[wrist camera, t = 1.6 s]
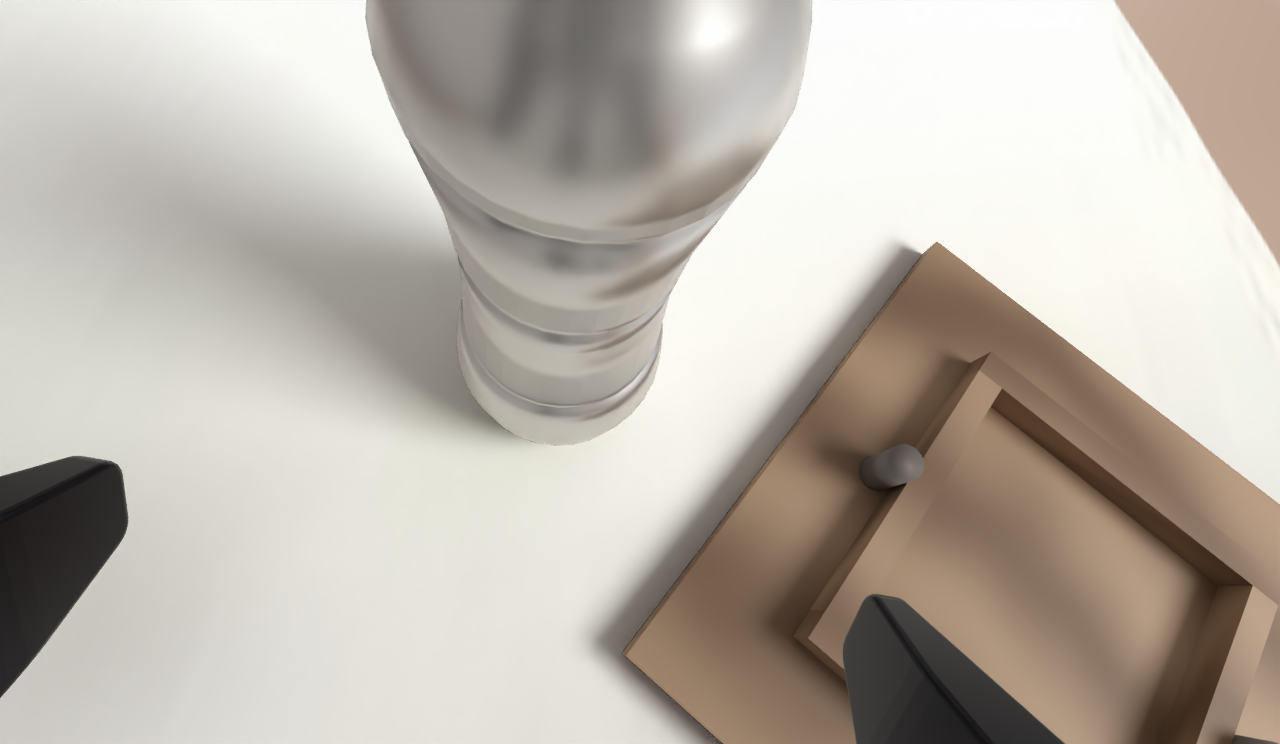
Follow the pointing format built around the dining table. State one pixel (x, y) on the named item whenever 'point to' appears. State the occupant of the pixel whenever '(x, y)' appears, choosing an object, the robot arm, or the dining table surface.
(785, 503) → the walnut bottle stand
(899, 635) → the robot arm
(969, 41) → the dining table surface
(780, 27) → the plastic bottle
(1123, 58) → the dining table surface
